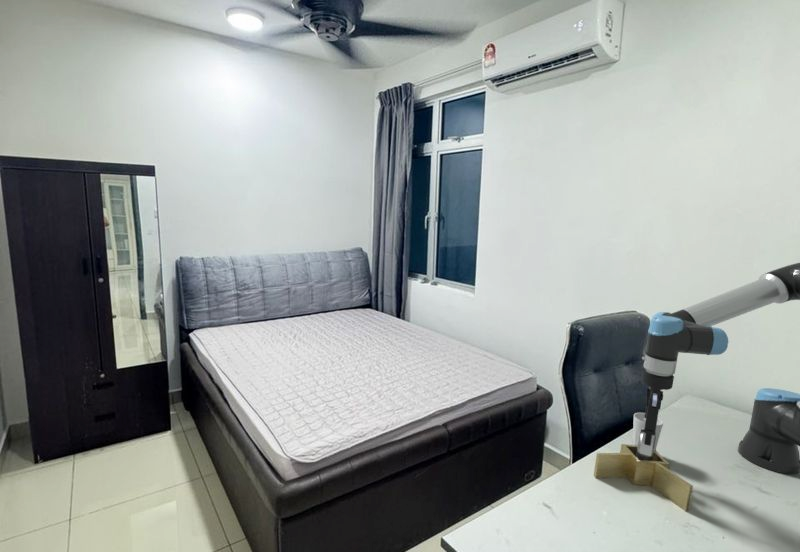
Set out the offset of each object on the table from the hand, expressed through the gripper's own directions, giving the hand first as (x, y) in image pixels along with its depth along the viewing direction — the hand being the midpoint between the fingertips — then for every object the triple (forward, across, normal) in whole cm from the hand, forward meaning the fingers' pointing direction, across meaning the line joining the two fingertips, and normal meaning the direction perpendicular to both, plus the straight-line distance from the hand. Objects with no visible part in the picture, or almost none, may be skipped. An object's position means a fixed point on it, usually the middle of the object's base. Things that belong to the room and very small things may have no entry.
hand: (645, 447), depth 119 cm
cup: (+9, -14, 0) cm, 17 cm away
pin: (+9, 0, 0) cm, 9 cm away
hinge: (+9, +7, -2) cm, 11 cm away
